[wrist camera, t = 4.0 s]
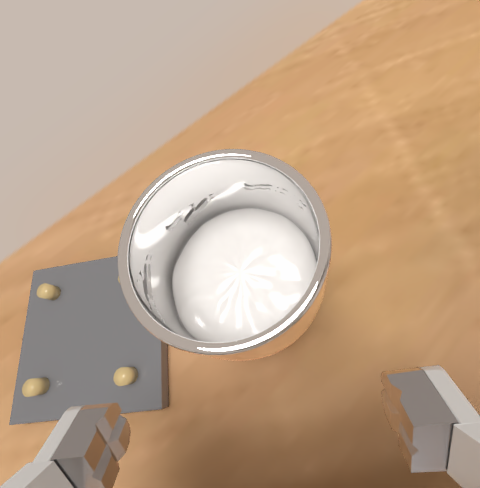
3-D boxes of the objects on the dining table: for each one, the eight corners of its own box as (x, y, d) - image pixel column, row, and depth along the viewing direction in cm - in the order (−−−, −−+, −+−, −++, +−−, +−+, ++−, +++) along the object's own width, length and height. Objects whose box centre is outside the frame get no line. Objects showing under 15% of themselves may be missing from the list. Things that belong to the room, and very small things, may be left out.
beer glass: (204, 324, 23) (66, 281, 9) (249, 251, 24) (191, 117, 10) (282, 376, 21) (259, 426, 7) (326, 292, 22) (382, 191, 8)
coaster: (165, 253, 26) (153, 244, 23) (168, 406, 21) (153, 412, 19) (44, 274, 27) (22, 267, 25) (23, 421, 23) (-7, 428, 20)
